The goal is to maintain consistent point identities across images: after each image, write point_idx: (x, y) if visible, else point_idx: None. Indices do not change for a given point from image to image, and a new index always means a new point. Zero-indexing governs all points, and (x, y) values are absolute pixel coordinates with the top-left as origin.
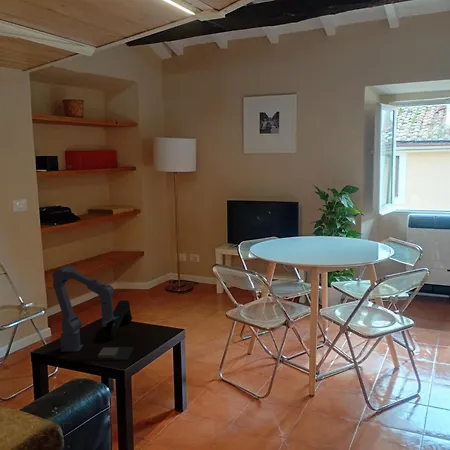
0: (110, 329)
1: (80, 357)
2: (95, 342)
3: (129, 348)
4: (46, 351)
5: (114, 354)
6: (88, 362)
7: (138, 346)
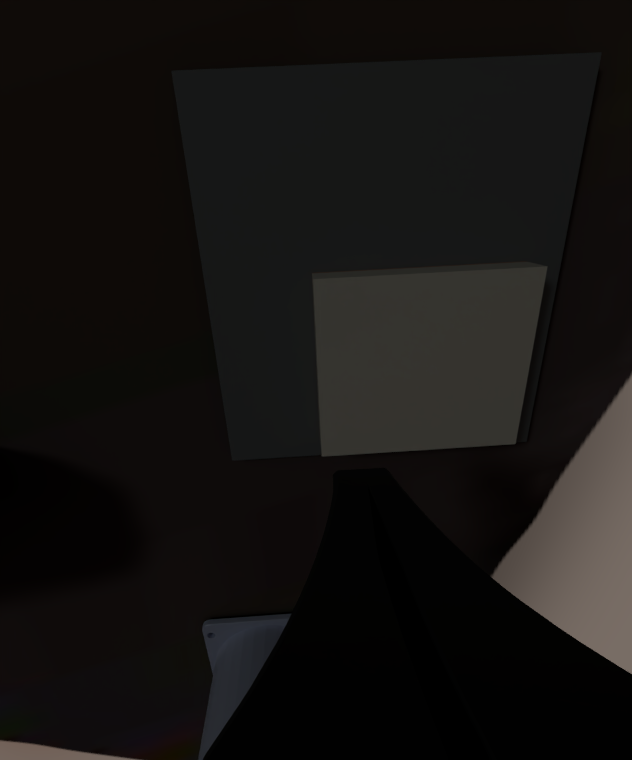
0: (475, 566)
1: None
2: (113, 559)
3: (233, 132)
4: None
5: (519, 267)
6: (548, 476)
7: (100, 7)
